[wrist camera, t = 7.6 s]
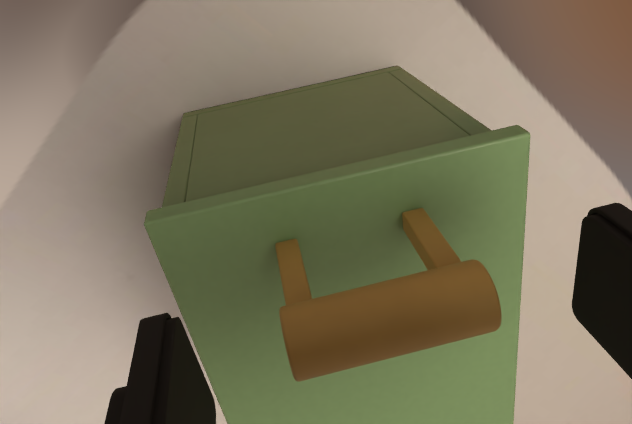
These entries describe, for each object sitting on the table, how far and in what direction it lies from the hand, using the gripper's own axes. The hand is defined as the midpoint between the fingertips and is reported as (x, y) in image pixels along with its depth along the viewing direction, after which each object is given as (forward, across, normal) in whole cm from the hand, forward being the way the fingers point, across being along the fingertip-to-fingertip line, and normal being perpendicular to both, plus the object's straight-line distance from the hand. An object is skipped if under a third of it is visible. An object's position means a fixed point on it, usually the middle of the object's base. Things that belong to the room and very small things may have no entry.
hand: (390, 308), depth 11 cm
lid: (+5, 0, +6) cm, 8 cm away
